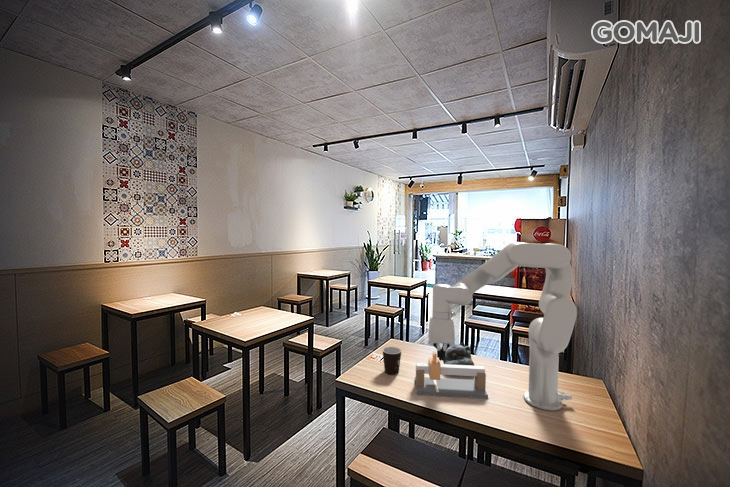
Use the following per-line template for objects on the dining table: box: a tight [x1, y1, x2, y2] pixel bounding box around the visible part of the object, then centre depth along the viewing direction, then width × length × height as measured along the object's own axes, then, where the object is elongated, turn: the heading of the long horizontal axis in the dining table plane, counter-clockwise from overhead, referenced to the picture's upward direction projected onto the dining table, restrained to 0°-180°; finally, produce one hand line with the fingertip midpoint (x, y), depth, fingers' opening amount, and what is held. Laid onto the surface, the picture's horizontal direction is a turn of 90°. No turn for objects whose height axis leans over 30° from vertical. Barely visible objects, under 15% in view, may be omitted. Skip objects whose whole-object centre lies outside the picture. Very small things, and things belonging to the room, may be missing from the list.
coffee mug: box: [382, 346, 402, 376], centre depth 142 cm, size 12×9×10 cm
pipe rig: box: [414, 362, 489, 400], centre depth 126 cm, size 27×12×10 cm, turn 85°
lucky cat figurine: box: [442, 342, 476, 366], centre depth 143 cm, size 15×12×14 cm
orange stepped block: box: [428, 351, 441, 380], centre depth 127 cm, size 4×6×10 cm, turn 175°
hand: (441, 359), depth 126 cm, fingers closed
